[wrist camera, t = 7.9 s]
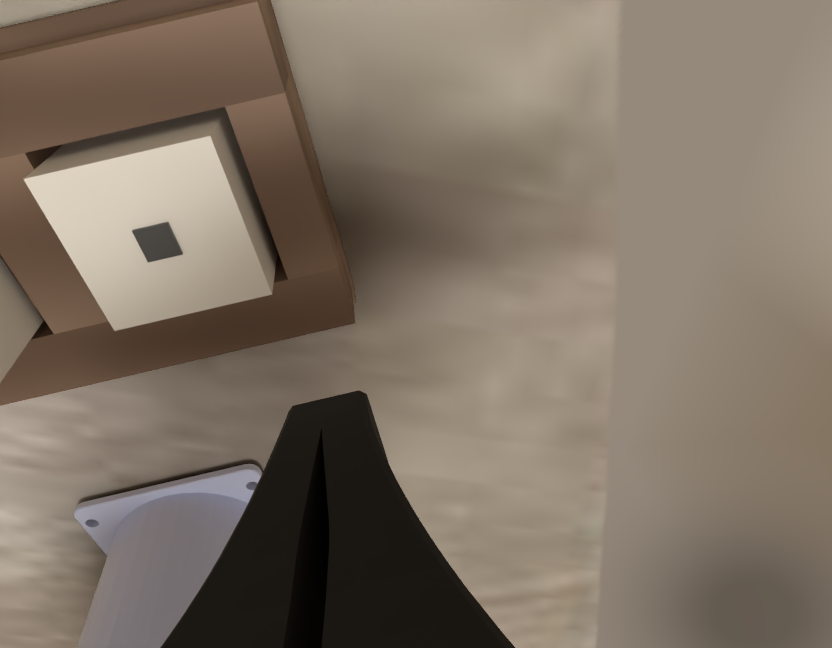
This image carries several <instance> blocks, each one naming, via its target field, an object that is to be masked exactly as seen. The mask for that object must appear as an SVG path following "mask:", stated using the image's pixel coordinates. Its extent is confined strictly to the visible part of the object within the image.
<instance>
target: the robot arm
mask: <svg viewBox="0 0 832 648" xmlns="http://www.w3.org/2000/svg"><path fill="white" fill-rule="evenodd" d="M250 482H256V483H250ZM74 517H75V518H76V520H77V521H78V522H79V523H80V524H81V526H82V527H83V528H84V529H85V530H86V532H87V533H88V534H89V535H90V536H91V537H92V539H93V540H94V541H95V542H96V543H97V545H98V546H99V547H100V548H101V549H102V551H103V552H104V553H105V554H106V555H107V559H106V562H105V565H104V568H103V571H102V574H101V577H100V580H99V583H98V586H97V589H96V592H95V595H94V598H93V601H92V604H91V607H90V610H89V613H88V616H87V618H86V621H85V624H84V627H83V630H82V633H81V636H80V639H79V642H78V645H77V648H515V647H514V646H513V645H512V643H511V642H510V641H509V640H508V639H507V638H506V637H505V635H504V634H503V633H502V632H501V630H500V629H499V628H498V627H497V625H496V624H495V623H494V622H493V620H492V619H491V618H490V617H489V615H488V614H487V613H486V612H485V610H484V609H483V608H482V607H481V605H480V604H479V603H478V602H477V600H476V599H475V598H474V597H473V596H472V594H471V593H470V592H469V591H468V589H467V588H466V587H465V585H464V584H463V583H462V581H461V580H460V579H459V577H458V576H457V574H456V573H455V572H454V570H453V569H452V568H451V566H450V565H449V563H448V562H447V561H446V559H445V558H444V556H443V555H442V553H441V552H440V551H439V549H438V548H437V546H436V545H435V543H434V542H433V540H432V539H431V537H430V536H429V534H428V533H427V531H426V530H425V528H424V526H423V525H422V523H421V522H420V520H419V518H418V517H417V515H416V514H415V512H414V510H413V508H412V507H411V505H410V503H409V502H408V500H407V498H406V497H405V495H404V493H403V491H402V489H401V488H400V486H399V484H398V482H397V480H396V478H395V476H394V474H393V472H392V470H391V468H390V466H389V464H388V460H387V457H386V454H385V450H384V447H383V444H382V441H381V438H380V435H379V431H378V428H377V425H376V422H375V419H374V416H373V413H372V409H371V406H370V403H369V400H368V397H367V394H365V393H363V392H361V391H355V392H351V393H346V394H342V395H338V396H333V397H329V398H325V399H321V400H316V401H312V402H308V403H303V404H299V405H295V406H293V407H292V408H291V409H290V411H289V413H288V415H287V418H286V420H285V423H284V425H283V428H282V430H281V432H280V435H279V437H278V440H277V442H276V444H275V447H274V449H273V451H272V454H271V456H270V458H269V460H268V463H267V465H266V467H265V469H264V471H263V473H262V471H261V469H260V468H259V467H258V466H256V465H254V464H244V465H240V466H235V467H231V468H227V469H223V470H218V471H214V472H210V473H205V474H201V475H197V476H193V477H188V478H184V479H180V480H175V481H171V482H167V483H162V484H158V485H154V486H150V487H145V488H141V489H137V490H132V491H128V492H124V493H120V494H115V495H111V496H107V497H102V498H98V499H94V500H90V501H85V502H82V503H79V504H78V505H77V506H76V509H75V511H74Z"/></svg>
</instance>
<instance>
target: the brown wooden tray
mask: <svg viewBox="0 0 832 648" xmlns="http://www.w3.org/2000/svg"><path fill="white" fill-rule="evenodd" d="M221 107H225V108H226V111H227V114H228V116H229V119H230V122H231V124H232V127H233V130H234V133H235V135H236V138H237V141H238V144H239V146H240V149H241V152H242V155H243V157H244V160H245V163H246V166H247V168H248V171H249V174H250V176H251V179H252V182H253V185H254V187H255V190H256V193H257V196H258V198H259V201H260V204H261V207H262V209H263V212H264V215H265V218H266V220H267V223H268V226H269V228H270V231H271V234H272V237H273V239H274V242H275V245H276V248H277V250H278V254H277V261H276V269H275V277H274V284H273V292H272V295H268V296H263V297H259V298H255V299H251V300H246V301H242V302H238V303H233V304H229V305H225V306H220V307H216V308H212V309H207V310H203V311H199V312H195V313H190V314H186V315H182V316H177V317H173V318H169V319H164V320H160V321H156V322H151V323H147V324H143V325H139V326H134V327H130V328H126V329H121V330H117V331H114V329H113V328H112V326H111V324H110V323H109V321H108V319H107V318H106V316H105V314H104V313H103V311H102V309H101V308H100V306H99V304H98V303H97V301H96V299H95V298H94V296H93V294H92V293H91V291H90V289H89V288H88V286H87V284H86V283H85V281H84V279H83V278H82V276H81V274H80V273H79V271H78V269H77V268H76V266H75V264H74V263H73V261H72V259H71V258H70V256H69V254H68V253H67V251H66V249H65V248H64V246H63V244H62V243H61V241H60V239H59V238H58V236H57V234H56V233H55V231H54V229H53V228H52V226H51V224H50V223H49V221H48V219H47V218H46V216H45V214H44V213H43V211H42V209H41V208H40V206H39V204H38V203H37V201H36V199H35V198H34V196H33V194H32V193H31V191H30V189H29V188H28V186H27V184H26V183H25V181H24V178H25V177H26V176H28V175H29V174H30V173H31V172H32V171H33V170H35V169H36V168H37V167H38V166H39V165H40V164H42V163H43V162H44V161H45V160H46V159H47V158H49V157H50V156H51V155H52V154H53V153H54V152H56V151H57V150H58V149H59V148H60V147H61V146H63V145H64V144H66V143H70V142H74V141H79V140H83V139H87V138H92V137H96V136H100V135H105V134H109V133H113V132H118V131H122V130H126V129H131V128H135V127H139V126H144V125H148V124H152V123H156V122H161V121H165V120H169V119H174V118H178V117H182V116H187V115H191V114H195V113H200V112H204V111H208V110H213V109H217V108H221ZM0 257H1V258H2V260H3V261H4V263H5V264H6V266H7V267H8V269H9V270H10V272H11V273H12V275H13V276H14V278H15V279H16V281H17V282H18V283H19V285H20V286H21V288H22V289H23V291H24V292H25V294H26V295H27V297H28V298H29V300H30V301H31V303H32V304H33V306H34V307H35V309H36V310H37V311H38V313H39V314H40V316H41V317H42V319H43V320H44V321H43V322H42V324H41V325H40V327H39V328H38V330H37V331H36V332H35V334H34V335H33V337H32V338H31V340H30V341H29V342H28V344H27V345H26V347H25V348H24V350H23V351H22V352H21V354H20V355H19V357H18V358H17V360H16V361H15V362H14V364H13V365H12V367H11V368H10V370H9V371H8V372H7V374H6V375H5V377H4V378H3V380H2V381H1V382H0V405H5V404H9V403H13V402H18V401H22V400H26V399H30V398H35V397H39V396H43V395H48V394H52V393H56V392H61V391H65V390H69V389H73V388H78V387H82V386H86V385H91V384H95V383H99V382H104V381H108V380H112V379H116V378H121V377H125V376H129V375H134V374H138V373H142V372H147V371H151V370H155V369H160V368H164V367H168V366H172V365H177V364H181V363H185V362H190V361H194V360H198V359H203V358H207V357H211V356H215V355H220V354H224V353H228V352H233V351H237V350H241V349H246V348H250V347H254V346H258V345H263V344H267V343H271V342H276V341H280V340H284V339H289V338H293V337H297V336H301V335H306V334H310V333H314V332H319V331H323V330H327V329H332V328H336V327H340V326H344V325H349V324H353V323H355V317H354V305H353V303H356V299H355V288H354V284H353V281H352V278H351V274H350V271H349V267H348V264H347V260H346V257H345V254H344V250H343V247H342V243H341V240H340V236H339V233H338V230H337V226H336V223H335V219H334V216H333V212H332V209H331V206H330V202H329V199H328V195H327V192H326V188H325V185H324V182H323V178H322V175H321V171H320V168H319V165H318V161H317V158H316V154H315V151H314V147H313V144H312V141H311V137H310V134H309V130H308V127H307V123H306V120H305V117H304V113H303V110H302V106H301V103H300V99H299V96H298V93H297V89H296V86H295V82H294V79H293V75H292V72H291V69H290V65H289V62H288V58H287V55H286V51H285V48H284V45H283V41H282V38H281V34H280V31H279V27H278V24H277V21H276V17H275V14H274V10H273V7H272V4H271V0H119V1H115V2H110V3H106V4H102V5H97V6H93V7H89V8H84V9H80V10H76V11H71V12H67V13H63V14H58V15H54V16H50V17H45V18H41V19H37V20H32V21H28V22H24V23H19V24H15V25H11V26H6V27H2V28H0Z"/></svg>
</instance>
